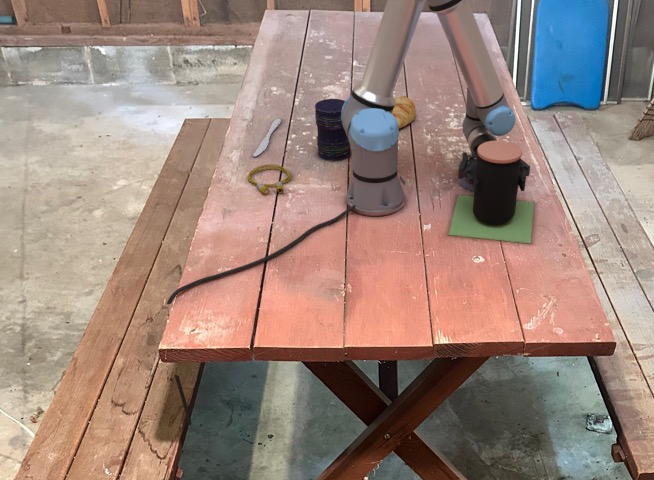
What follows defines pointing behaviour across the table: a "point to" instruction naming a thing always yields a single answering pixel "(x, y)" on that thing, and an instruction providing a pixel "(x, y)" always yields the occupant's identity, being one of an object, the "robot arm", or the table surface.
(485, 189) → the coffee jar
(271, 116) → the table surface
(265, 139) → the butter knife
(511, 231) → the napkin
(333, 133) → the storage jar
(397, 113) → the croissant
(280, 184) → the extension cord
